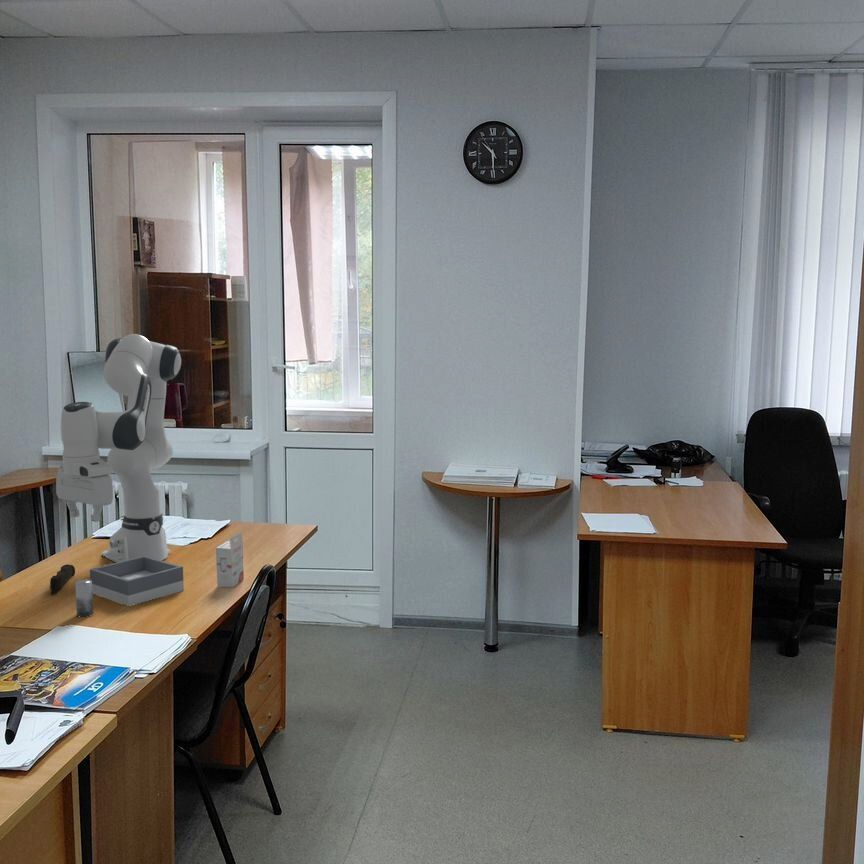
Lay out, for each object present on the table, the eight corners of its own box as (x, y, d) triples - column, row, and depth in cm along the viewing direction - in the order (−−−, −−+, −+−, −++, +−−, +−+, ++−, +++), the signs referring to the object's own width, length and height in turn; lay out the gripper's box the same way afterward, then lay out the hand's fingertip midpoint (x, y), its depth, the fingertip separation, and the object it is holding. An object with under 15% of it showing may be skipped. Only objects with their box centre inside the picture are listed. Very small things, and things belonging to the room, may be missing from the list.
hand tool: (61, 576, 270) (60, 561, 269) (75, 576, 270) (74, 561, 270) (42, 597, 251) (41, 581, 251) (57, 596, 252) (56, 580, 251)
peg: (73, 615, 236) (72, 582, 235) (87, 611, 239) (86, 578, 238) (82, 618, 233) (80, 584, 232) (96, 614, 237) (94, 581, 235)
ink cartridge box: (228, 578, 269) (227, 530, 267) (244, 579, 268) (243, 531, 266) (216, 586, 261) (214, 537, 259) (232, 588, 260) (231, 538, 258)
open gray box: (90, 593, 254) (89, 569, 253) (145, 578, 268) (144, 555, 267) (128, 606, 243) (127, 581, 242) (183, 590, 257) (183, 566, 256)
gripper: (47, 464, 235) (51, 516, 236) (93, 471, 223) (97, 526, 224) (70, 461, 240) (73, 512, 241) (116, 467, 228) (119, 521, 229)
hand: (85, 519), depth 233 cm, fingers open, 8 cm apart
